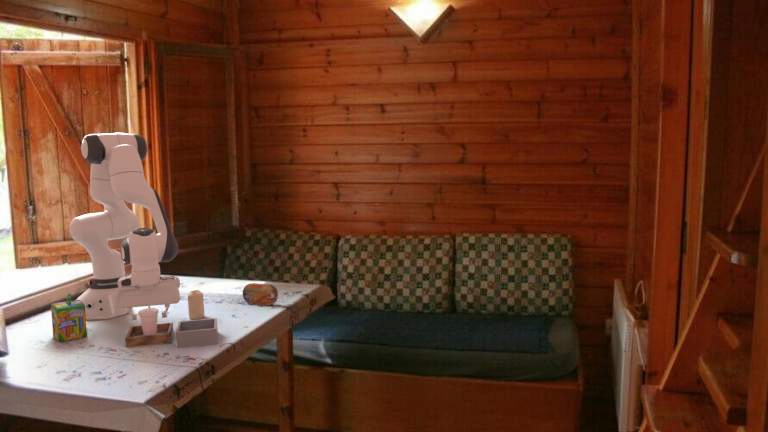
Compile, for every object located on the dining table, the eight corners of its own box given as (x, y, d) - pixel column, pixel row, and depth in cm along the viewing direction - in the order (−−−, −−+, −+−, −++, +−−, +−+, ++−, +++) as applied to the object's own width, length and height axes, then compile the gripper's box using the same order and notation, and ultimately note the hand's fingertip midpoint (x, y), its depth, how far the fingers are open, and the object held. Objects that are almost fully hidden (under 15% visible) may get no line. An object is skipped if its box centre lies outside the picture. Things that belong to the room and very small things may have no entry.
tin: (242, 303, 261) (241, 283, 260) (247, 301, 264) (246, 281, 263) (275, 306, 255) (274, 285, 254) (279, 304, 258) (278, 283, 257)
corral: (125, 347, 211) (125, 338, 210) (131, 334, 224) (131, 326, 224) (170, 343, 214) (169, 334, 214) (173, 330, 227) (172, 322, 227)
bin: (176, 347, 209) (175, 332, 208) (179, 335, 221) (178, 321, 221) (217, 343, 212) (216, 328, 211) (217, 332, 224) (216, 318, 224)
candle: (200, 319, 240) (198, 292, 239) (186, 319, 241) (184, 292, 240) (207, 315, 245) (205, 289, 244) (193, 314, 247) (191, 288, 245)
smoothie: (148, 343, 215) (145, 301, 213) (136, 340, 218) (132, 299, 216) (164, 337, 220) (161, 296, 218) (152, 334, 223) (149, 294, 221)
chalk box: (52, 336, 224) (48, 294, 222) (81, 331, 230) (77, 289, 228) (58, 343, 217) (54, 299, 215) (88, 337, 223) (84, 294, 221)
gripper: (179, 273, 222) (182, 313, 223) (115, 278, 217) (118, 319, 219) (178, 277, 215) (181, 318, 217) (112, 282, 211) (115, 324, 213)
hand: (149, 318), depth 218 cm, fingers open, 8 cm apart
